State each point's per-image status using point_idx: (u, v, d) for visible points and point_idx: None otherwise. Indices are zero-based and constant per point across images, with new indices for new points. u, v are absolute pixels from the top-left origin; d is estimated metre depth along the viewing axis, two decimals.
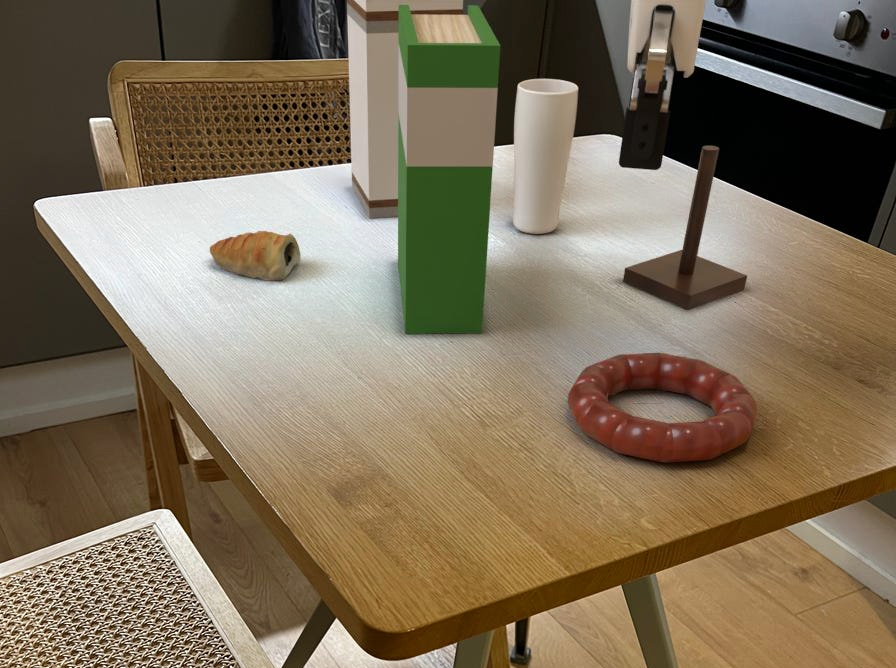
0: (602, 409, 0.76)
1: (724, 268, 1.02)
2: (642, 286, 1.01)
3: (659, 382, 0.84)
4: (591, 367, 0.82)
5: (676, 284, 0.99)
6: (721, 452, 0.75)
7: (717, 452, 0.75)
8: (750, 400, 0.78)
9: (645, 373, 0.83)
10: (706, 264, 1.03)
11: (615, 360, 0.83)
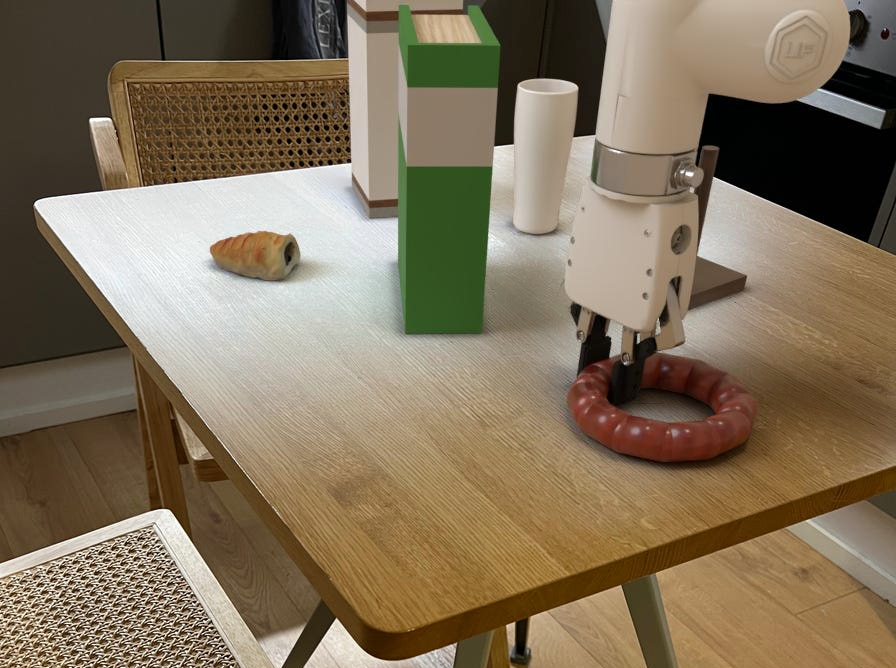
0: (601, 409, 0.76)
1: (724, 268, 1.02)
2: None
3: (658, 382, 0.84)
4: (590, 367, 0.82)
5: None
6: (720, 451, 0.75)
7: (716, 452, 0.75)
8: (750, 399, 0.78)
9: (644, 373, 0.83)
10: (706, 264, 1.03)
11: (614, 360, 0.83)
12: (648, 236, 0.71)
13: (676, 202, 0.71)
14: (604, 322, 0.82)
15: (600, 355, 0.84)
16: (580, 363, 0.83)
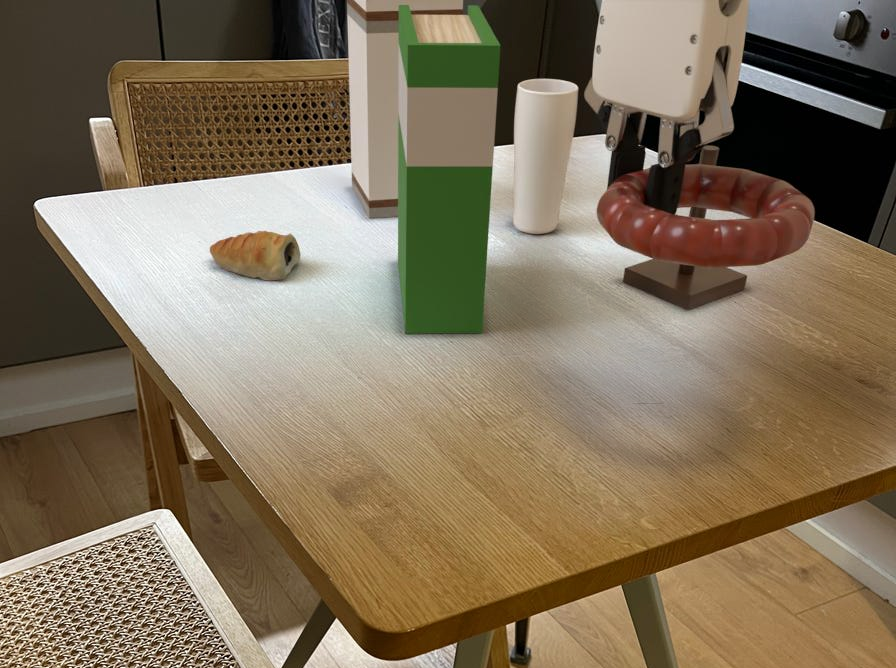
0: (638, 209, 0.66)
1: (724, 268, 1.02)
2: (642, 286, 1.01)
3: (699, 197, 0.74)
4: (622, 176, 0.72)
5: (676, 284, 0.99)
6: (776, 254, 0.65)
7: (772, 253, 0.65)
8: (807, 201, 0.68)
9: (683, 185, 0.73)
10: None
11: None
12: None
13: None
14: (637, 127, 0.73)
15: (633, 168, 0.74)
16: (610, 176, 0.73)
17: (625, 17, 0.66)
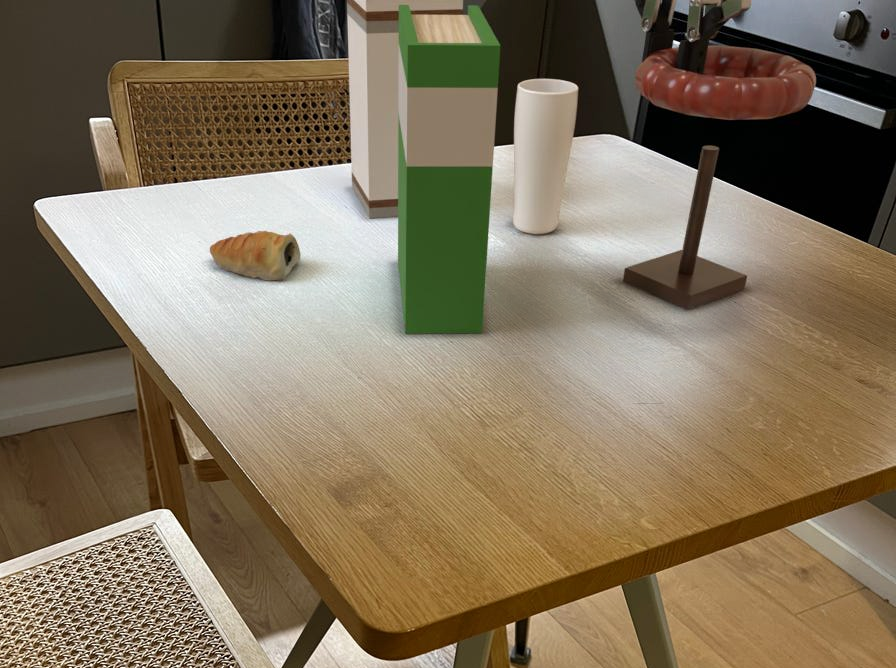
0: (672, 71, 0.80)
1: (724, 268, 1.02)
2: (642, 286, 1.01)
3: (718, 72, 0.88)
4: (656, 52, 0.86)
5: (676, 284, 0.99)
6: (785, 107, 0.80)
7: (782, 106, 0.79)
8: (810, 69, 0.82)
9: (706, 62, 0.87)
10: (706, 264, 1.03)
11: (677, 48, 0.87)
12: None
13: None
14: (667, 12, 0.87)
15: (663, 47, 0.88)
16: (645, 53, 0.87)
17: None
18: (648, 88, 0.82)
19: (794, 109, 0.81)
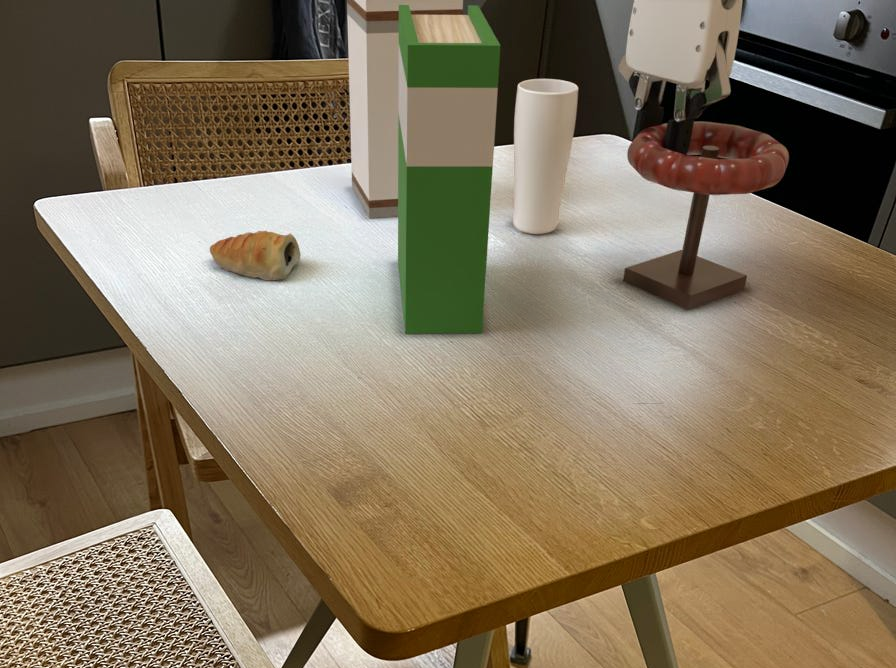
0: (659, 151, 0.90)
1: (724, 268, 1.02)
2: (642, 286, 1.01)
3: None
4: (646, 128, 0.96)
5: (676, 284, 0.99)
6: (760, 185, 0.90)
7: (757, 184, 0.89)
8: (783, 148, 0.92)
9: (692, 137, 0.97)
10: (706, 264, 1.03)
11: (666, 125, 0.97)
12: None
13: None
14: (658, 92, 0.97)
15: (654, 123, 0.98)
16: (637, 129, 0.97)
17: (652, 9, 0.90)
18: (638, 164, 0.92)
19: (768, 185, 0.91)
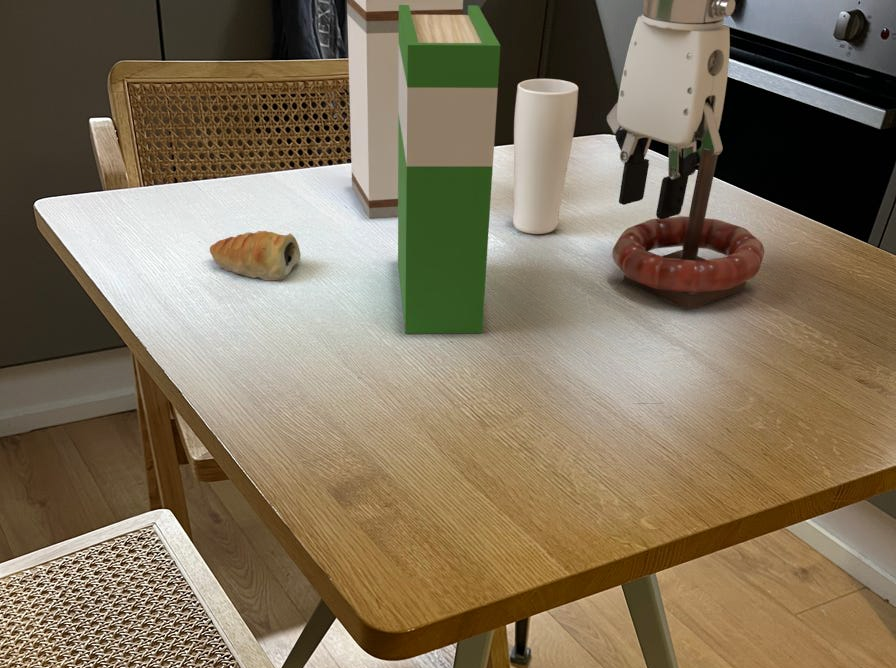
0: (641, 254, 0.97)
1: None
2: (642, 286, 1.01)
3: None
4: (629, 228, 1.02)
5: None
6: (737, 281, 0.96)
7: (734, 281, 0.95)
8: (758, 242, 0.98)
9: (672, 232, 1.03)
10: None
11: (648, 223, 1.03)
12: (689, 59, 0.89)
13: (712, 30, 0.88)
14: (643, 147, 1.00)
15: (639, 175, 1.02)
16: (623, 180, 1.01)
17: (642, 72, 0.93)
18: (623, 266, 0.99)
19: (745, 280, 0.97)
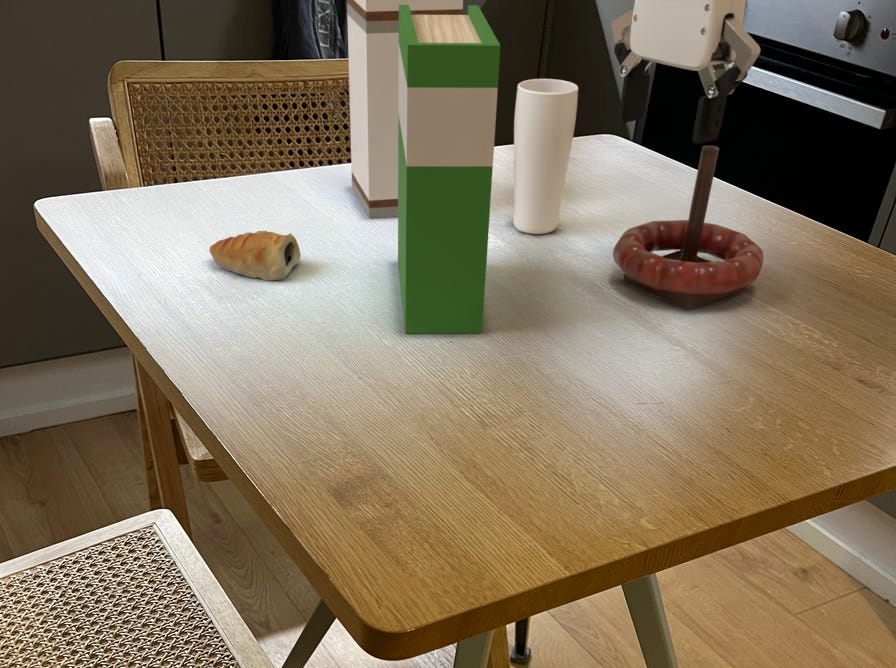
0: (643, 254, 0.97)
1: None
2: (642, 286, 1.01)
3: None
4: (630, 229, 1.02)
5: None
6: (737, 286, 0.96)
7: (734, 285, 0.96)
8: (758, 249, 0.99)
9: (673, 235, 1.04)
10: None
11: (649, 224, 1.03)
12: None
13: None
14: (645, 64, 0.97)
15: (640, 90, 0.98)
16: (623, 96, 0.97)
17: None
18: (624, 266, 0.98)
19: (744, 285, 0.97)
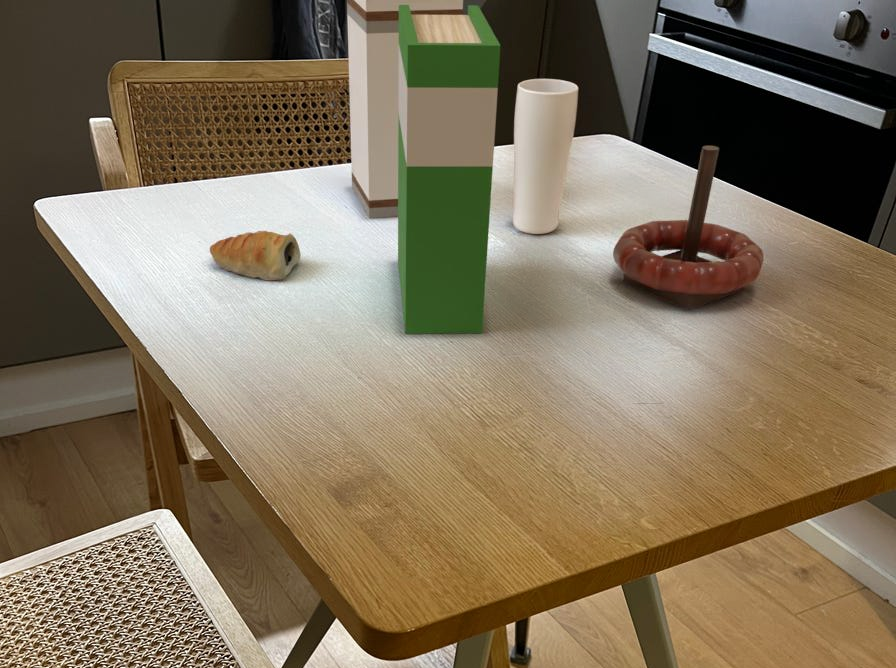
0: (643, 254, 0.97)
1: None
2: (642, 286, 1.01)
3: None
4: (630, 229, 1.02)
5: None
6: (737, 286, 0.96)
7: (734, 285, 0.96)
8: (758, 249, 0.99)
9: (673, 235, 1.04)
10: None
11: (649, 224, 1.03)
12: None
13: None
14: None
15: None
16: None
17: None
18: (624, 266, 0.98)
19: (744, 285, 0.97)
